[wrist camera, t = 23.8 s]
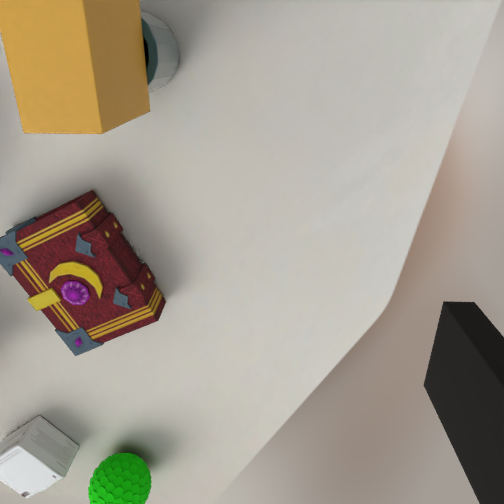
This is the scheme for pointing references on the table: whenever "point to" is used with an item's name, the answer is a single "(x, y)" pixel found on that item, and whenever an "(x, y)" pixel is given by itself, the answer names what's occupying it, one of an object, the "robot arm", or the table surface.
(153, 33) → the coffee cup
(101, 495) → the ornament
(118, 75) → the block
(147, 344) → the table surface
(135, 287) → the decorative book
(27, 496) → the small box
